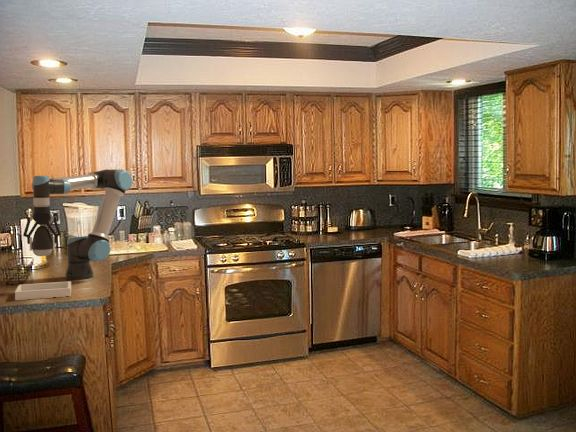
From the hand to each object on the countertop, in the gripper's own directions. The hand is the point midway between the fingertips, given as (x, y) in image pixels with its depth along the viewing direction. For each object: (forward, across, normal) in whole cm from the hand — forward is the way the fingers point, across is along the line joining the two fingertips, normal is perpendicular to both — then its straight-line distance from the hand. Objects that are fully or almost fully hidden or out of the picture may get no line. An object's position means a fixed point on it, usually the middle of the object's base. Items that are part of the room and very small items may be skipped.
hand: (42, 250), depth 300 cm
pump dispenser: (+3, 0, 0) cm, 3 cm away
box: (+21, -2, +12) cm, 24 cm away
